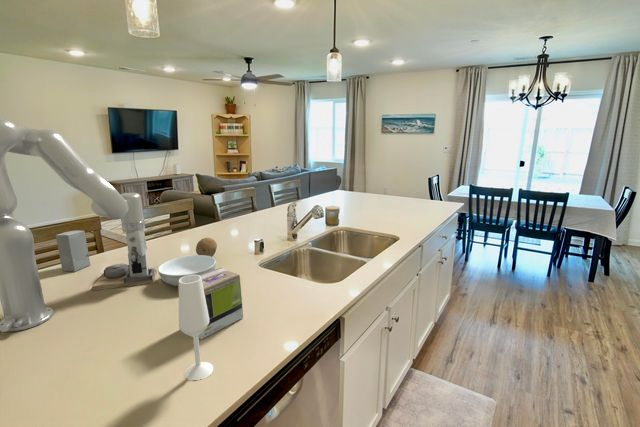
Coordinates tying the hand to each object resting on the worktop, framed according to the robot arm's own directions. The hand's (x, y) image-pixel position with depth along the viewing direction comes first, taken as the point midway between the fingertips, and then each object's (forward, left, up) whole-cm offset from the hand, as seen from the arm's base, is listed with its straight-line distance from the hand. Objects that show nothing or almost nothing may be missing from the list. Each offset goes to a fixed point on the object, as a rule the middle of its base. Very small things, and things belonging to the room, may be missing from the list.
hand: (139, 268), depth 130 cm
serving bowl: (-6, -18, -5) cm, 20 cm away
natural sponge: (+16, -25, -5) cm, 30 cm away
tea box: (-41, -26, -5) cm, 49 cm away
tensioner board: (+3, +5, -5) cm, 8 cm away
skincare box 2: (0, 0, -5) cm, 5 cm away
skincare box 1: (+23, +28, -5) cm, 37 cm away
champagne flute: (-62, -22, -5) cm, 66 cm away
